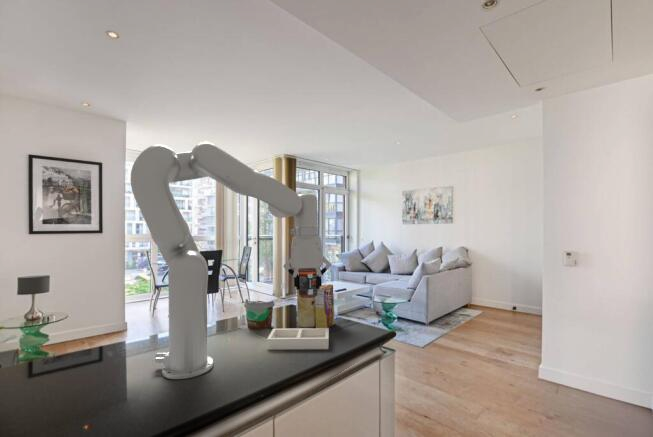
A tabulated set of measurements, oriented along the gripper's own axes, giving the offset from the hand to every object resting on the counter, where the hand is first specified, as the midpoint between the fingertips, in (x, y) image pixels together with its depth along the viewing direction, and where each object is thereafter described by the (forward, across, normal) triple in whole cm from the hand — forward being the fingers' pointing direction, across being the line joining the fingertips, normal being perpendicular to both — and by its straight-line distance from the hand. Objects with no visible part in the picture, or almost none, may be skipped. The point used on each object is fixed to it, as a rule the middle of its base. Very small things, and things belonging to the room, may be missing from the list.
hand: (308, 288), depth 100 cm
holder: (+18, -4, +2) cm, 18 cm away
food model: (+18, -3, +20) cm, 27 cm away
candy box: (+19, +4, +19) cm, 27 cm away
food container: (+18, -22, +17) cm, 33 cm away
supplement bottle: (+3, 0, 0) cm, 3 cm away
